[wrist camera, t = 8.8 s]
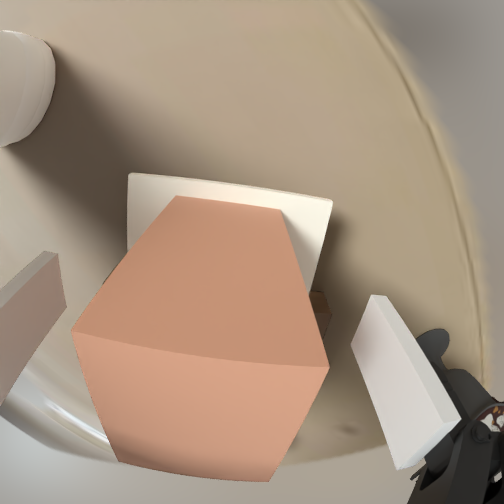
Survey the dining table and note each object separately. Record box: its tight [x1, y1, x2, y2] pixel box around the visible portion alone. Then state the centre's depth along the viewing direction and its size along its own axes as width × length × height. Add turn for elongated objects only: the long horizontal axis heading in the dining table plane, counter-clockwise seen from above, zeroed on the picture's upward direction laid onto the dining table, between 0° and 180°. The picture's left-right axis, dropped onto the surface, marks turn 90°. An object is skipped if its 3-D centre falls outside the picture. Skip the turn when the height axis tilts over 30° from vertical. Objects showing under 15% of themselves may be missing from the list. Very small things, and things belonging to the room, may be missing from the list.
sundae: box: [416, 329, 504, 432], centre depth 16 cm, size 7×7×15 cm
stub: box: [71, 173, 333, 482], centre depth 11 cm, size 10×8×10 cm
